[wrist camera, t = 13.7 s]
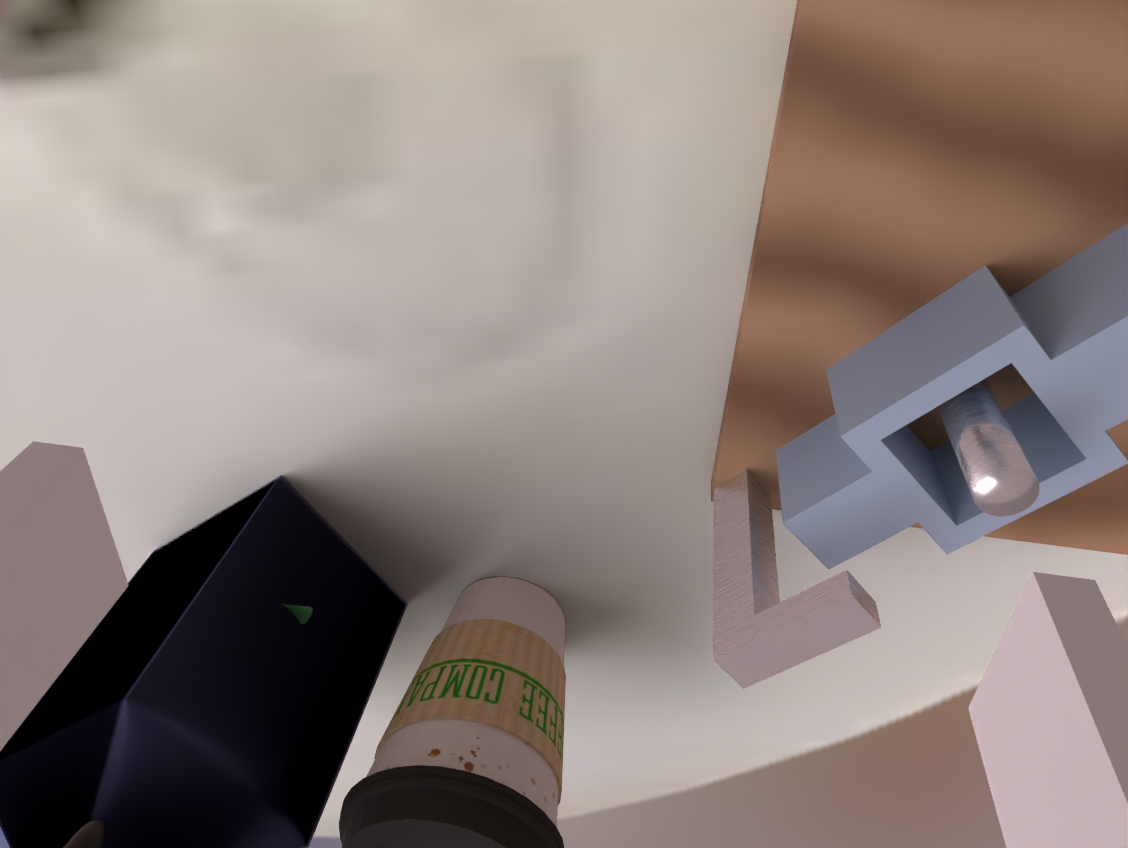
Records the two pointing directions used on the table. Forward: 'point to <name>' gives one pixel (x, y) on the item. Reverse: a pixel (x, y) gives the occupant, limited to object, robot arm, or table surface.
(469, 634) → the coffee cup
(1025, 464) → the pintle
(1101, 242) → the link
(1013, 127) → the board
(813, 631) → the bracket
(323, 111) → the table surface
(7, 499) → the robot arm
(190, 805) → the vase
